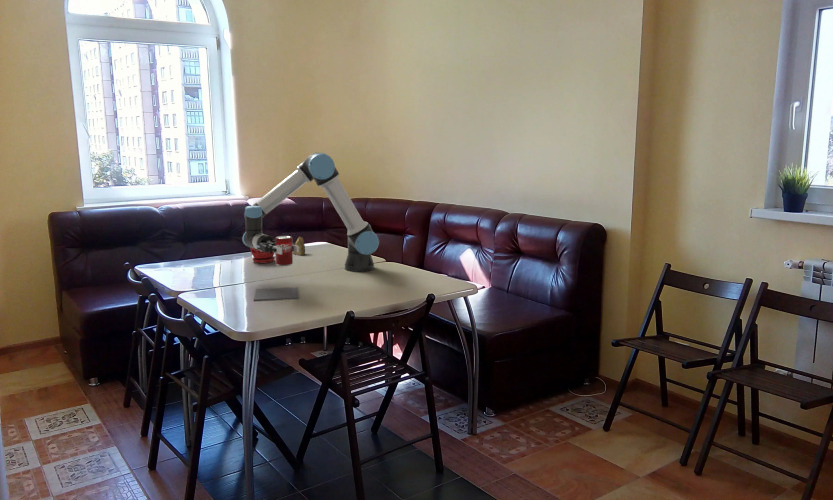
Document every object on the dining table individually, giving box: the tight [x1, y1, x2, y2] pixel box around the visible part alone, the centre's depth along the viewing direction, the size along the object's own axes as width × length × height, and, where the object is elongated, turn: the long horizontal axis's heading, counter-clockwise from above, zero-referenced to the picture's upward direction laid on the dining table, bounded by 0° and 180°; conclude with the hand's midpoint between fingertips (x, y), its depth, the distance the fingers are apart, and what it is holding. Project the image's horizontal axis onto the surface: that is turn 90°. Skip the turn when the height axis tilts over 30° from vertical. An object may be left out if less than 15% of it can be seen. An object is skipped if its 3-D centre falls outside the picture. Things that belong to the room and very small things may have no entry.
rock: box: [293, 236, 306, 256], centre depth 352 cm, size 11×9×10 cm
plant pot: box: [249, 247, 275, 264], centre depth 330 cm, size 13×13×12 cm
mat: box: [253, 286, 300, 302], centre depth 262 cm, size 18×18×1 cm
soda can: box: [274, 235, 294, 267], centre depth 264 cm, size 7×7×12 cm
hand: (289, 250), depth 260 cm, fingers closed on soda can, 7 cm apart
